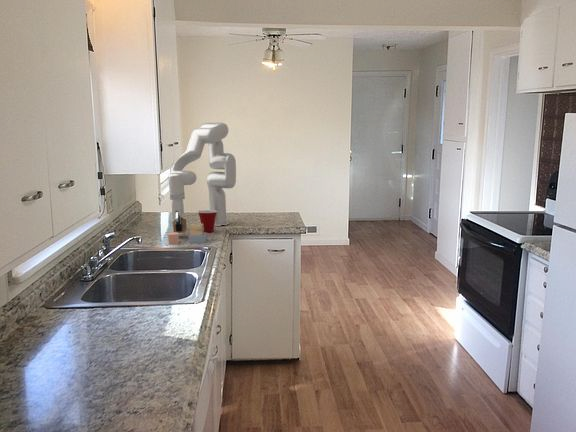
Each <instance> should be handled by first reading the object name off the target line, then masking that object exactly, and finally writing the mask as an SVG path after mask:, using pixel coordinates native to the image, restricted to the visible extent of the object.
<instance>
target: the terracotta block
mask: <svg viewBox="0 0 576 432" xmlns="http://www.w3.org/2000/svg"><path fill="white" fill-rule="evenodd" d="M167 242H168V245H178V244H180V237H179V233H178V232H174V231H173V232H167Z"/></svg>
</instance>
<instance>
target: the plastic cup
mask: <svg viewBox="0 0 576 432" xmlns="http://www.w3.org/2000/svg"><path fill="white" fill-rule="evenodd" d="M197 213H198V217H199V219H200V220H199V221H200V224H203V229H204V233H206V232H207V233H208V234H209V233H210V234H211V233H213V232H214V230H215V226H214V225H215V217H216V213H217V211H213V210H210V209H209V210H206V209H205V210H204V209H203V210H198V211H197Z"/></svg>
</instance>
